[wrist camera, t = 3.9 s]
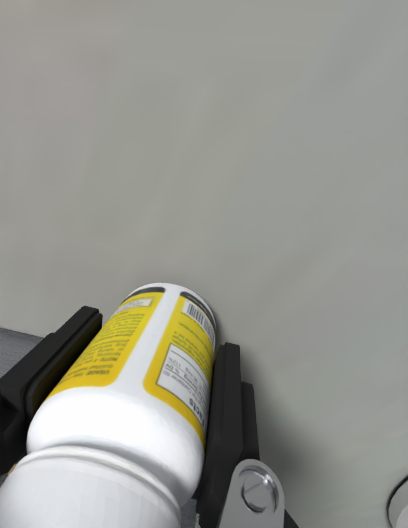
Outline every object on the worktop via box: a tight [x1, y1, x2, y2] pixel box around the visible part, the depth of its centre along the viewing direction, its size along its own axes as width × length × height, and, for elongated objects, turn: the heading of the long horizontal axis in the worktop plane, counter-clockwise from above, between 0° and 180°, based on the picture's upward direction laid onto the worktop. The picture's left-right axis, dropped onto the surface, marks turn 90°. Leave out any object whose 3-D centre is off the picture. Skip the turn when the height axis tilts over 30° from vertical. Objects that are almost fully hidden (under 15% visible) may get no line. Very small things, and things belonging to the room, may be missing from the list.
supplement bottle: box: [0, 283, 216, 528], centre depth 8 cm, size 5×5×8 cm
